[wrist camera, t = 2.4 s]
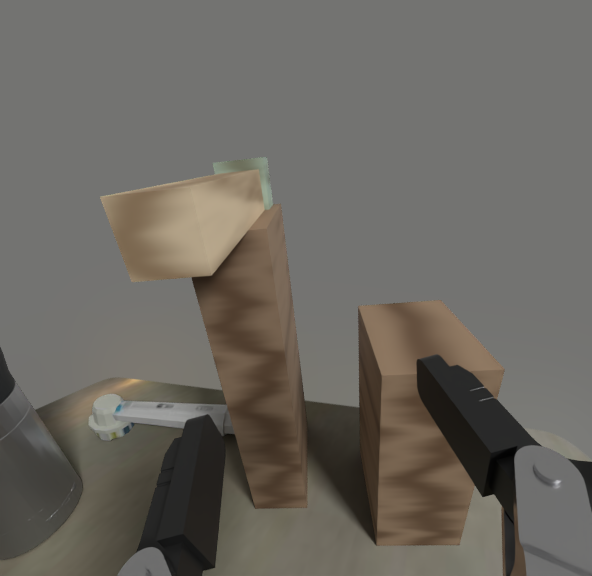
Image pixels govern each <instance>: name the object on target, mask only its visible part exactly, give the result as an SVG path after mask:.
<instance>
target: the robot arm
mask: <svg viewBox="0 0 592 576" xmlns="http://www.w3.org/2000/svg"><path fill="white" fill-rule="evenodd" d="M416 365H417V389H418V393H419V396H420V398H421V400H422V402H423V404H424V406H425V407H426V409H427V410H428V412H429V414H430V415H431V417H432V418H433V420H434V421H435V423H436V425H437V426H438V428H439V429H440V431H441V432H442V434H443V436H444V437H445V439H446V440H447V442H448V443H449V445H450V447H451V448H452V450H453V451H454V453H455V454H456V456H457V458H458V459H459V461H460V462H461V464H462V465H463V467H464V469H465V470H466V472H467V473H468V475H469V476H470V478H471V480H472V481H473V483H474V484H475V486H476V487H477V489H478V491H479V492H480V494H481V495H482V497H485V496H489V495H493V494H494V495H495V496H496V498H497V499H498V501H499V502H500V504H501V505H502V553H503V576H592V462H587V461H577V460H571V459H567V458H565V457H564V456H562V455H561V454H559V453H557V452H555V451H553V450H551V449H548V448H546V447H542V446H541V445H540V444H539V443H537V442H536V441H535V440H534V439H533V438H532V437H531V436H530V435H529V434H528V433H527V431H526V430H525V429H524V428H523V427H522V426H521V425H520V424H519V423H518V422H517V421H516V420H515V419H514V418H513V416H512V415H511V414H510V413H509V412H508V411H507V410H506V409H505V408H504V407H503V406H502V405H501V404H500V402H499V401H498V400H497V399H495V398H494V397H493V395H492V394H491V393H490V392H489V391H488V389H487V388H485V387H484V385H483V384H482V383H481V382H480V381H479V380H478V379H477V378H476V377H475V375H474V374H473V373H471V372H469V371H468V370H466V369H464V368H463V367H461V366H459V365H454V366H449V365H448V364H447V363H446V362H445V360H444V359H443V358H442V357H441V356H440V355H438V354H435V355H432V356H428V357H424V358H420V359H417V362H416ZM224 465H225V444H224V440H223V437H222V436H221V434H220V432H219V430H218V429H217V427H216V425H215V423H214V422H213V420H212V418H211V417H210V415H208V414H206V415H203V416H199V417H195V418H191V419H188V420H187V421H186V423H185V426H184V430H183V434H182V437H180V438H176V439H174V441H173V442H172V444H171V446H170V447H169V449H168V451H167V452H166V454H165V457H164V460H163V464H162V467H161V474H159V478H158V481H157V488H155V492H154V495H153V499H152V502H151V506H150V509H149V513H148V516H147V520H146V523H145V527H144V530H143V534H142V537H141V541H140V544H139V547H138V549H137V551H136V554H134V555H133V556H132V557H131V558H130V559H129V560H128V561H127V562H126V563H125V564H124V566H123V567H122V568H121V570H120V572H119V573H118V575H117V576H202V572H203V571H204V570H208V569H211V568H215V561H216V551H217V540H218V529H219V519H220V508H221V497H222V487H223V476H224ZM81 493H82V481H81V479H80V478H79V476H78V475H77V473H76V472H75V470H74V469H73V467H72V465H71V464H70V462H69V461H68V459H67V458H66V456H65V455H64V453H63V452H62V450H61V449H60V447H59V446H58V444H57V443H56V441H55V440H54V438H53V437H52V435H51V434H50V432H49V431H48V429H47V428H46V426H45V425H44V423H43V422H42V420H41V419H40V417H39V415H38V414H37V412H36V411H35V409H34V408H33V406H32V405H31V403H30V402H29V401H28V399H27V398H26V397H25V395H24V393H23V392H22V390H21V389H20V387H19V386H18V384H17V383H16V381H15V380H14V378H13V377H12V375H11V374H10V372H9V370H8V367H7V364H6V361H5V358H4V355H3V352H2V350H1V348H0V559H9V558H13V557H16V556H19V555H21V554H24V553H26V552H28V551H29V550H31V549H33V548H34V547H36V546H38V545H39V544H40V543H42V542H43V541H44V540H46V539H47V538H48V537H49V536H51V535H52V534H53V533H54V532H55V531H56V530H57V529H58V528H59V527H60V526H61V525H62V524H63V523H64V522H65V521H66V520H67V518H68V517H69V516H70V514H71V513H72V512H73V510H74V508H75V507H76V505H77V503H78V501H79V499H80V496H81Z"/></svg>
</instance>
